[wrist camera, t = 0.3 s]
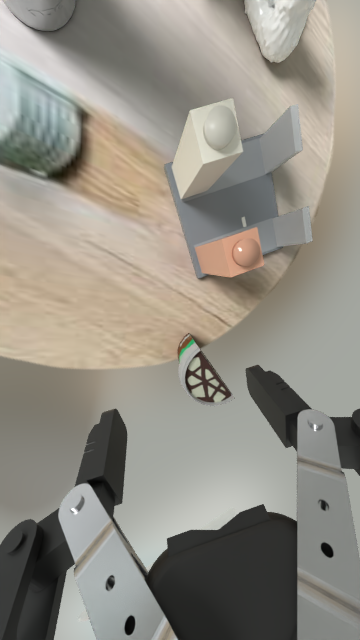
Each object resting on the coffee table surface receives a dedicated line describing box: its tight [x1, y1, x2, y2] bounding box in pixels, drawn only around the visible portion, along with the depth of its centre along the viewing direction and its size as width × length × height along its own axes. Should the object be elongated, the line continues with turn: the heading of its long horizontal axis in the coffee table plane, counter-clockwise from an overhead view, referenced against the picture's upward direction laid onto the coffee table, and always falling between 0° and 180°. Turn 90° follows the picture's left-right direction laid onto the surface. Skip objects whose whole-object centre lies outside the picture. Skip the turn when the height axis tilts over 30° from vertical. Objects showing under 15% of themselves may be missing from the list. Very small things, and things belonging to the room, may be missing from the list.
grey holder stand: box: [164, 104, 312, 278], centre depth 31 cm, size 18×17×8 cm
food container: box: [178, 333, 235, 406], centre depth 37 cm, size 12×6×10 cm, turn 34°
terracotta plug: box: [195, 227, 264, 277], centre depth 29 cm, size 4×4×13 cm
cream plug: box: [172, 98, 243, 199], centre depth 25 cm, size 4×4×13 cm
